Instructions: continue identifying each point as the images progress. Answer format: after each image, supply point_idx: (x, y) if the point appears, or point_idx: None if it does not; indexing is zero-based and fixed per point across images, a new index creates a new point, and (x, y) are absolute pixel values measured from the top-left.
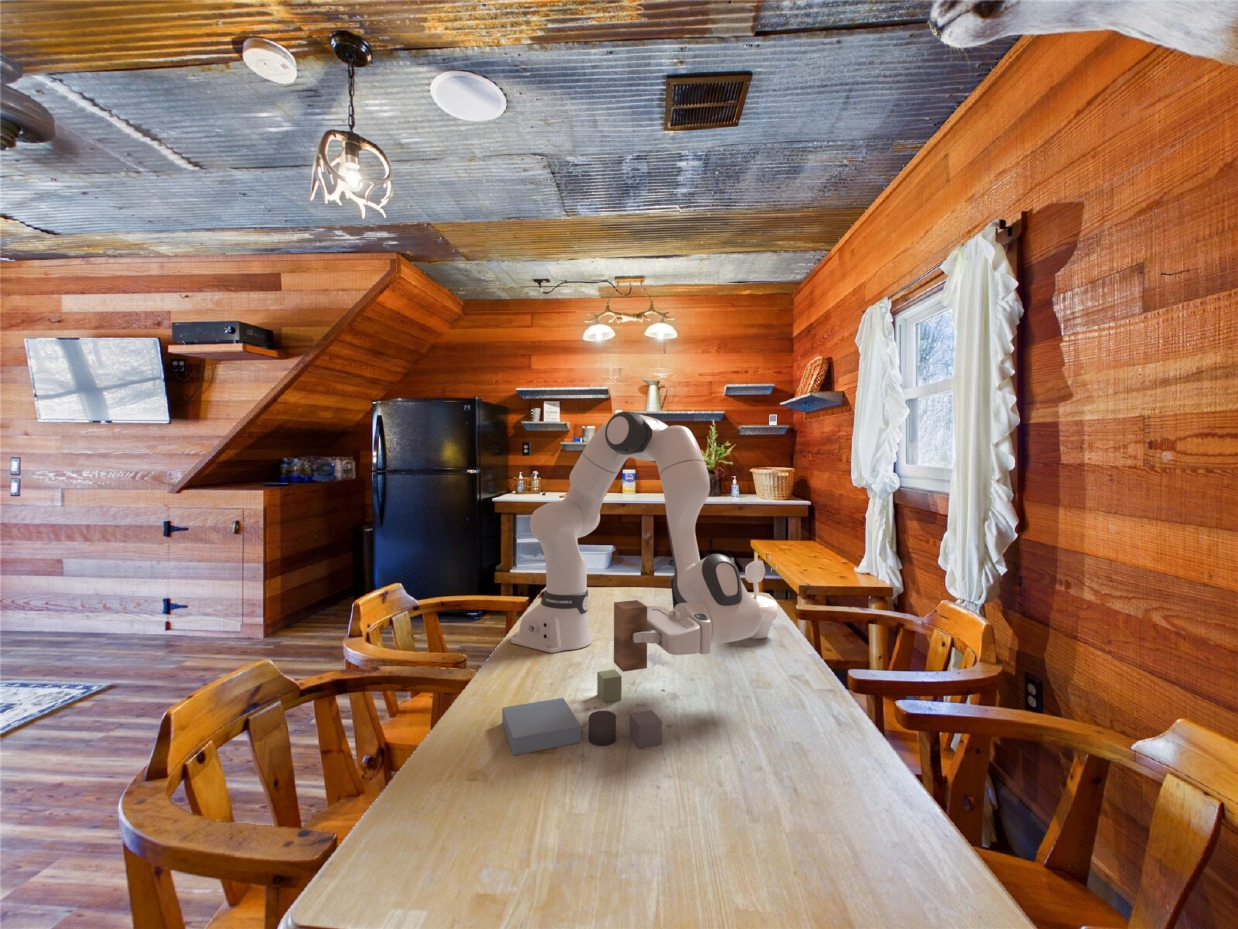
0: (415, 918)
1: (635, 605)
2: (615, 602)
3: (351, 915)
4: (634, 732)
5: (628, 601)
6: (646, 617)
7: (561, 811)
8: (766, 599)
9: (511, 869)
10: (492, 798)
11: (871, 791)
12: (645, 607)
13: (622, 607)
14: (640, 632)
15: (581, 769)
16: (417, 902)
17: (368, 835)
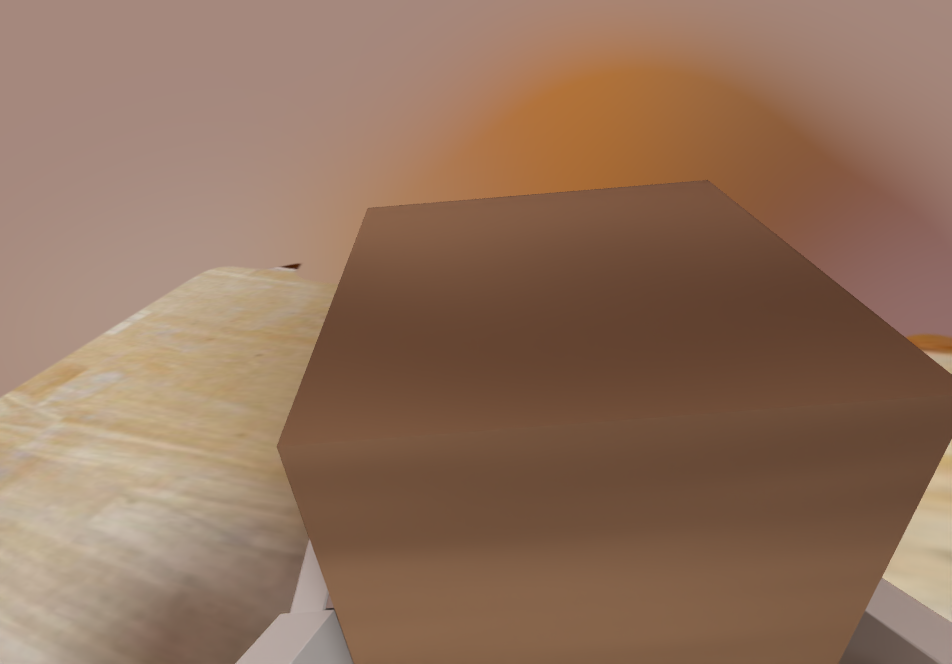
0: (114, 327)
1: (468, 302)
2: (699, 184)
3: (175, 291)
4: None
5: (778, 268)
6: (338, 598)
7: (139, 478)
8: None
9: (82, 401)
10: (280, 384)
11: None
12: (293, 426)
13: (436, 207)
14: (311, 587)
15: (255, 547)
16: (136, 327)
17: (303, 284)
